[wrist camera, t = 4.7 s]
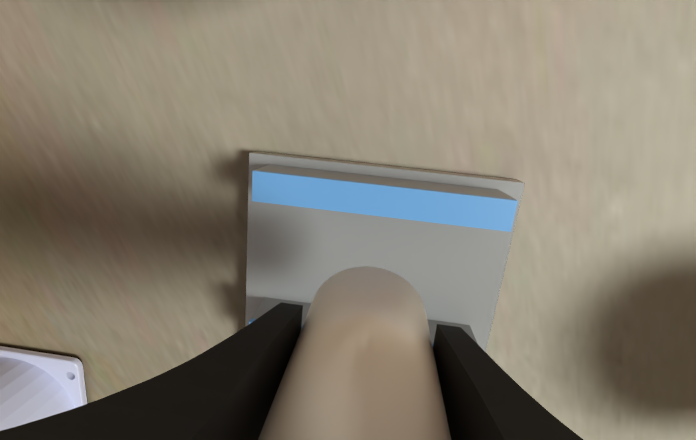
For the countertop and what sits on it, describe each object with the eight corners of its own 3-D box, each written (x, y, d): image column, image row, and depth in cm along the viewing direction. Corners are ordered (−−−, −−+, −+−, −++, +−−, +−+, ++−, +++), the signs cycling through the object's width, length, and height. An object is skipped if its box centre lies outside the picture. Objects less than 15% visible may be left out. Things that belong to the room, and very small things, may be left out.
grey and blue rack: (453, 456, 20) (466, 518, 17) (249, 423, 21) (225, 476, 18) (516, 179, 16) (548, 193, 13) (256, 150, 17) (227, 157, 14)
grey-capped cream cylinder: (416, 376, 12) (454, 693, 5) (306, 360, 12) (216, 644, 5) (435, 274, 10) (510, 517, 4) (313, 259, 11) (211, 465, 4)
